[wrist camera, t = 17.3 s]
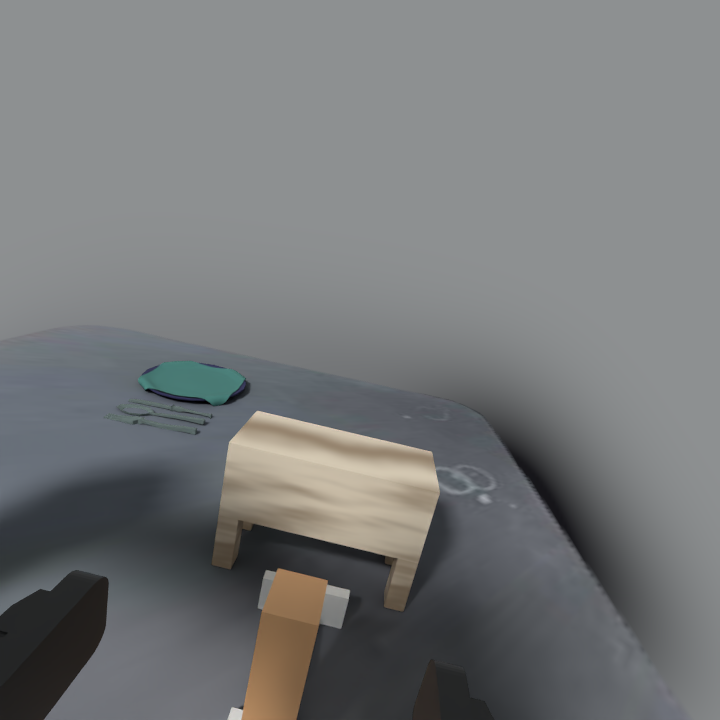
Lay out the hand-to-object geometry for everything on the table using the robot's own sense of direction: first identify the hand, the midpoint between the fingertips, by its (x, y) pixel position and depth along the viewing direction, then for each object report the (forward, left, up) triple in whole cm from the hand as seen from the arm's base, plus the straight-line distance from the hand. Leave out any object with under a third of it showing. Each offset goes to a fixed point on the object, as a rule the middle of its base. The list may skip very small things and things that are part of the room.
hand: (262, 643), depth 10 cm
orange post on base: (-6, +14, -24) cm, 29 cm away
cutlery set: (-56, +44, -25) cm, 75 cm away
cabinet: (-13, +27, -24) cm, 38 cm away
